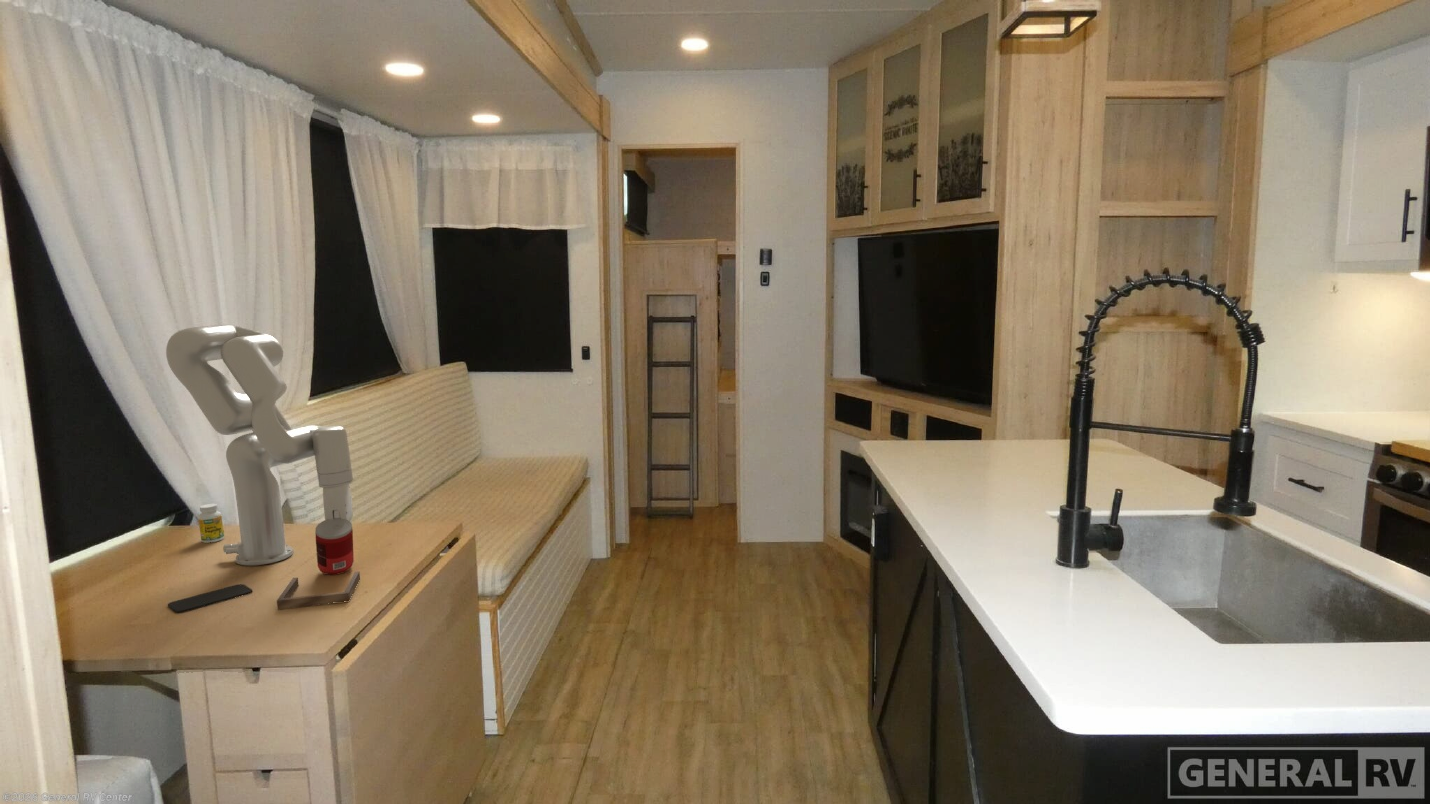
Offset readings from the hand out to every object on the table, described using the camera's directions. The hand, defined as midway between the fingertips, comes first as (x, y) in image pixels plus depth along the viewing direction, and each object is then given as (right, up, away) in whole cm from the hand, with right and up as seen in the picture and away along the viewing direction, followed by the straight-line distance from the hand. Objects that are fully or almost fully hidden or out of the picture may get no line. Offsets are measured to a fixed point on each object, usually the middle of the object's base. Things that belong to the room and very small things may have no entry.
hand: (345, 551), depth 199 cm
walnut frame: (+3, -6, -19) cm, 20 cm away
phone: (-20, -7, -20) cm, 30 cm away
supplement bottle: (-45, -1, +21) cm, 50 cm away
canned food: (0, -3, -4) cm, 5 cm away
